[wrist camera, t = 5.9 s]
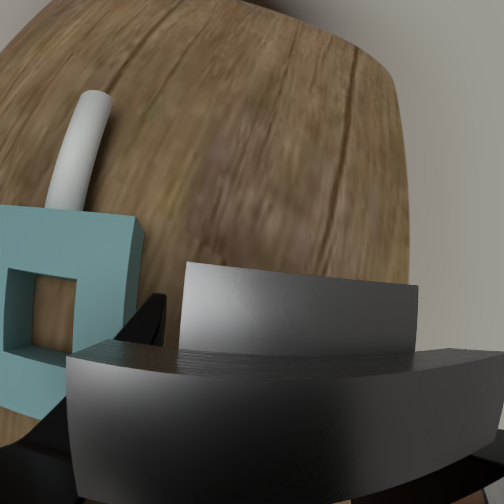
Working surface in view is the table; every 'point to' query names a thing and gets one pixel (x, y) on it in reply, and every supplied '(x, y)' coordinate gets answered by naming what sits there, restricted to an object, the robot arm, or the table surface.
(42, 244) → the block
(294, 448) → the grey t-shaped bar
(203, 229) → the table surface
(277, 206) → the table surface
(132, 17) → the table surface
